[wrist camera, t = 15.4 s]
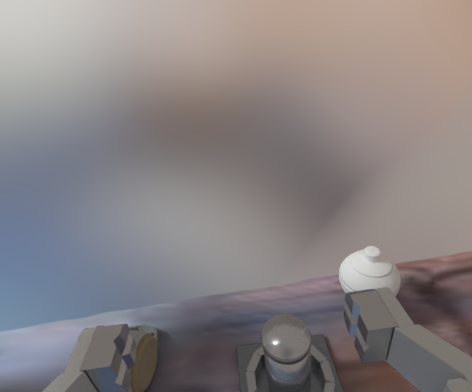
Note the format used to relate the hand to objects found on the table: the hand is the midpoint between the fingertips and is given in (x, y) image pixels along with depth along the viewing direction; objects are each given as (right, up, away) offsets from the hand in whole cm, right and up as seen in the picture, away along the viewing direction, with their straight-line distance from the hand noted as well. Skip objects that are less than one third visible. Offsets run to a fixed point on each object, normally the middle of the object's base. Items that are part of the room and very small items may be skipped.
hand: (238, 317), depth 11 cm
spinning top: (+19, -13, +34) cm, 41 cm away
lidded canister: (+6, -18, +25) cm, 32 cm away
